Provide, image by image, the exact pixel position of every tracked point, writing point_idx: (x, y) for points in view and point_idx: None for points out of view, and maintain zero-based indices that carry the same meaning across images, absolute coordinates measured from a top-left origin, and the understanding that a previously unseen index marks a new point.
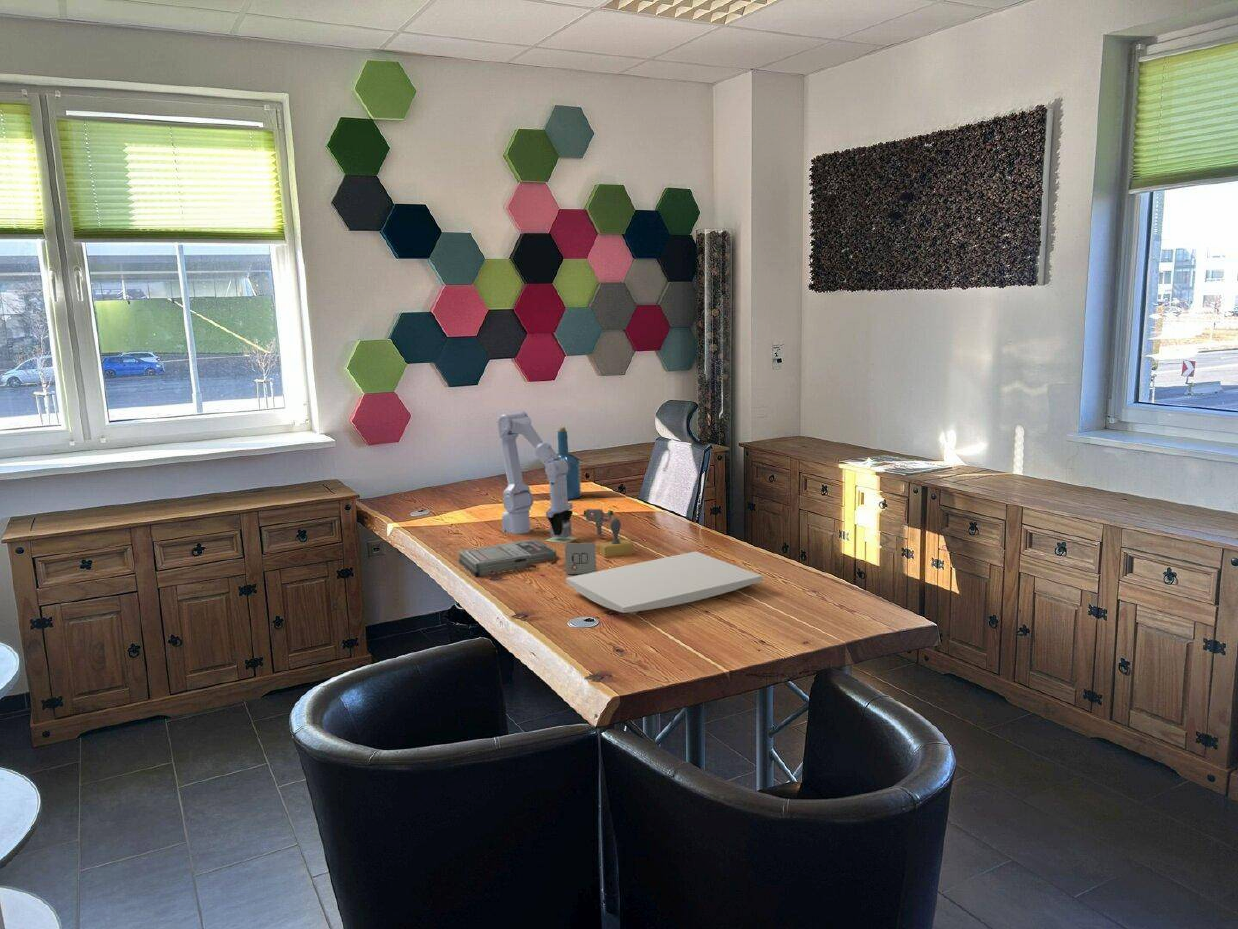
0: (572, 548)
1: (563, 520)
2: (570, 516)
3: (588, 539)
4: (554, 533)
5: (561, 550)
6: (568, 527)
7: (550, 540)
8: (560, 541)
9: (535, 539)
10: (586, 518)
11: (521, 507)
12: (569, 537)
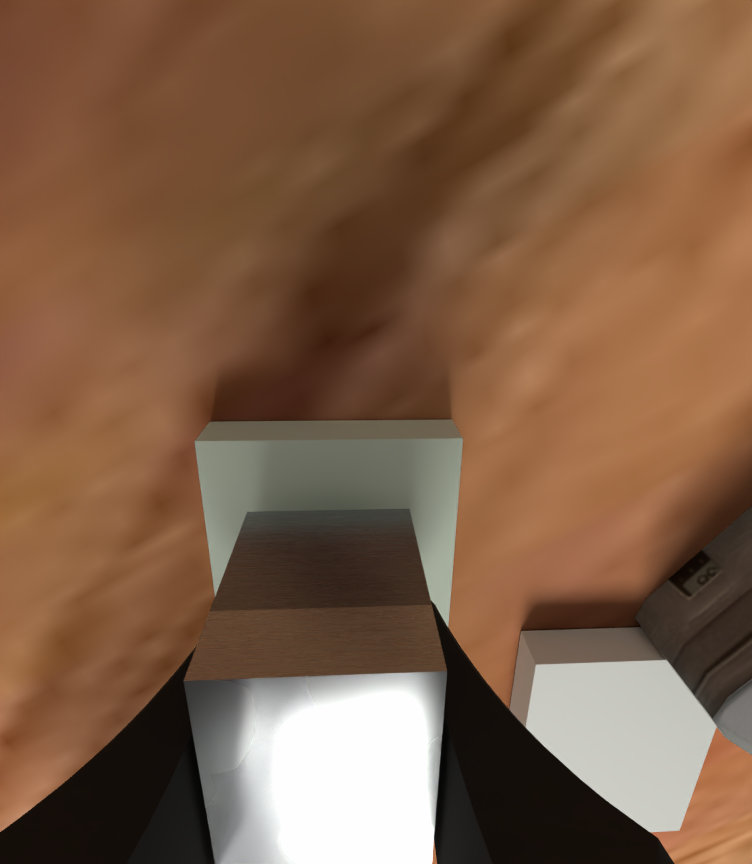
0: None
1: (230, 802)
2: (59, 810)
3: (29, 364)
4: None
5: (585, 415)
6: (317, 594)
7: None
8: (424, 541)
9: (732, 718)
10: None
11: None
12: (221, 539)
